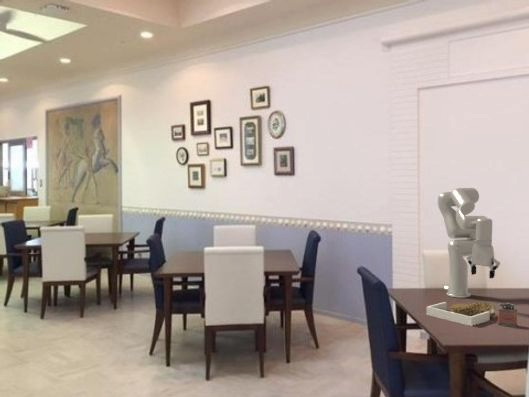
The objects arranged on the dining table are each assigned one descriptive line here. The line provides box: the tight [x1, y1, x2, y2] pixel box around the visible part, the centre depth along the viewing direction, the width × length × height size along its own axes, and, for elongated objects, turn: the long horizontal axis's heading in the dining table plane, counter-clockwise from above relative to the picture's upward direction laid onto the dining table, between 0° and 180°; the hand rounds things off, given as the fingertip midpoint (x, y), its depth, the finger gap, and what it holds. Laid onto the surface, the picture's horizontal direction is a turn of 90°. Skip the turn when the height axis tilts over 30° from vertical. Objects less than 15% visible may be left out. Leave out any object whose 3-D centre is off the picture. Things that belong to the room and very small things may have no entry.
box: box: [425, 301, 491, 327], centre depth 244 cm, size 24×15×4 cm, turn 36°
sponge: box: [449, 302, 496, 319], centre depth 245 cm, size 13×8×20 cm
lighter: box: [497, 302, 518, 327], centre depth 230 cm, size 8×3×10 cm, turn 71°
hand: (482, 276), depth 257 cm, fingers open, 9 cm apart
